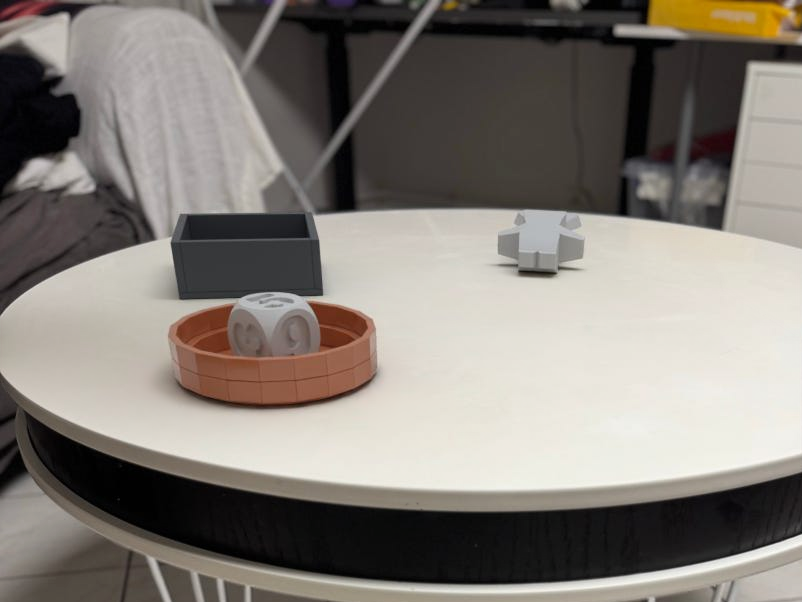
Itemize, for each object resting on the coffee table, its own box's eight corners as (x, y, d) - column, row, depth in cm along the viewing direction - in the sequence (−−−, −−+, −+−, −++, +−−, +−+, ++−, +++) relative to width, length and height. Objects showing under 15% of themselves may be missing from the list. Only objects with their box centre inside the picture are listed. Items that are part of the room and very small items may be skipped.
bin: (179, 299, 86) (170, 242, 83) (187, 265, 97) (179, 213, 94) (323, 295, 89) (319, 239, 86) (315, 262, 100) (312, 212, 97)
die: (281, 352, 73) (274, 288, 70) (324, 367, 70) (318, 300, 67) (231, 367, 70) (221, 300, 67) (273, 383, 67) (266, 314, 64)
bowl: (169, 413, 63) (160, 363, 61) (182, 346, 75) (175, 302, 73) (387, 403, 66) (385, 354, 63) (366, 339, 78) (364, 296, 76)
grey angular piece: (492, 234, 95) (509, 192, 106) (491, 283, 98) (508, 237, 109) (583, 239, 94) (590, 196, 105) (579, 289, 97) (586, 242, 108)
